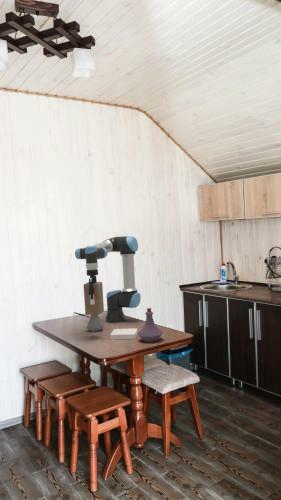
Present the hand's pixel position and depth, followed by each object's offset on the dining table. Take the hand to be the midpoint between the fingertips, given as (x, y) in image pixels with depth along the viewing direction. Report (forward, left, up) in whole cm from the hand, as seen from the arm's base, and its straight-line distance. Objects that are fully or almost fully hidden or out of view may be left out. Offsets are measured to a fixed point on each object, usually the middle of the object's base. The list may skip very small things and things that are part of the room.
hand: (94, 302), depth 287 cm
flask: (+12, +37, -23) cm, 45 cm away
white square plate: (0, +19, -23) cm, 30 cm away
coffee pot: (-16, -8, -23) cm, 29 cm away
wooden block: (0, 0, -7) cm, 7 cm away
